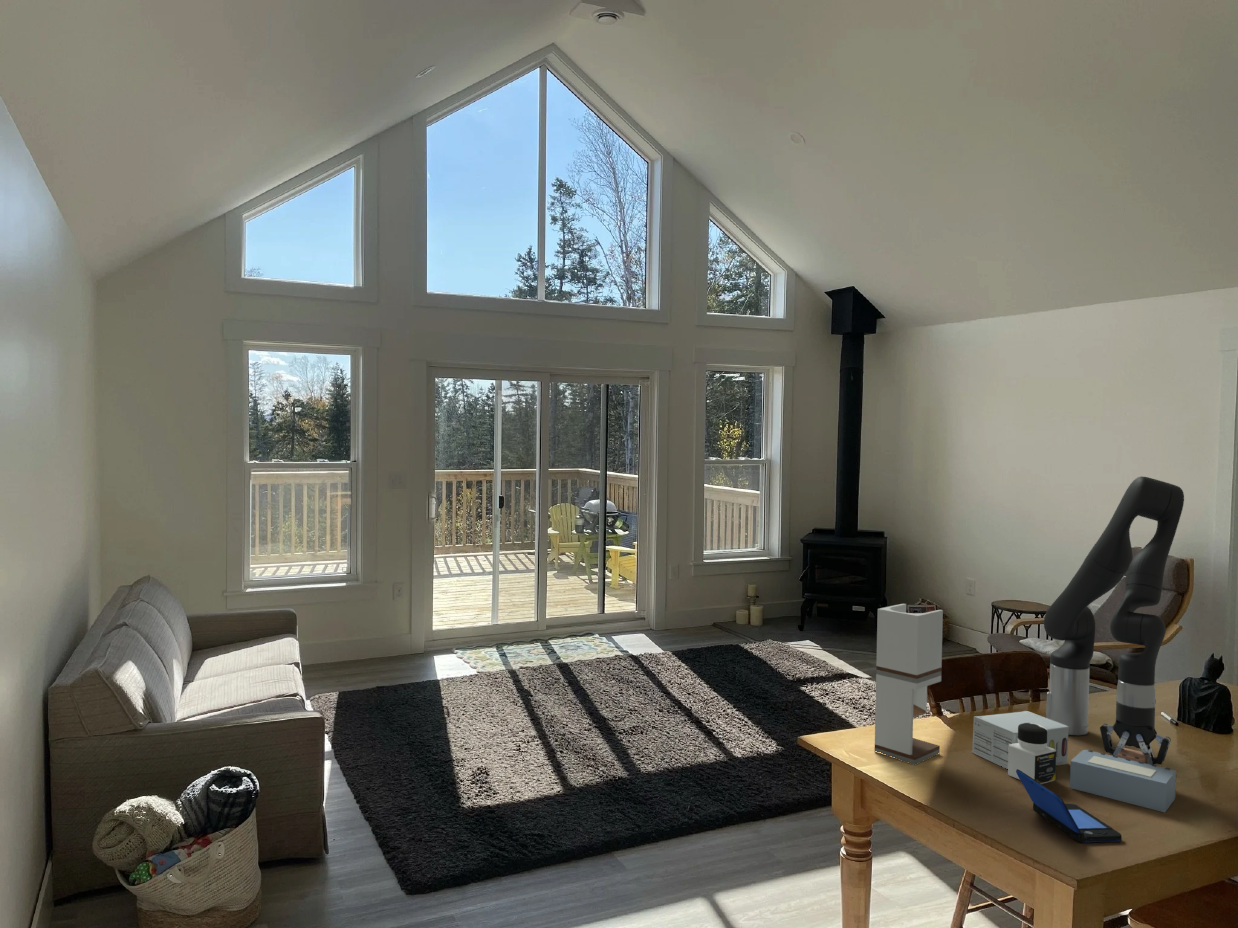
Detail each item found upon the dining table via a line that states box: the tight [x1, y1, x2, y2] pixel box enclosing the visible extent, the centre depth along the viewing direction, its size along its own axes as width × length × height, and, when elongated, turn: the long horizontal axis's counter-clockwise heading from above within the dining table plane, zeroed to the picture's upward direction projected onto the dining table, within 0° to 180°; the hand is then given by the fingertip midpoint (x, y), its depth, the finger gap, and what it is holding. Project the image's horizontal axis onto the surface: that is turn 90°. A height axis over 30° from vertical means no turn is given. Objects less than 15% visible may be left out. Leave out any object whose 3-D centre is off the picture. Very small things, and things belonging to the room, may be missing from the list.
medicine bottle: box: [1007, 723, 1057, 785], centre depth 196 cm, size 7×7×12 cm
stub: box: [1117, 747, 1147, 764], centre depth 195 cm, size 5×6×6 cm
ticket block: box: [1069, 749, 1177, 813], centre depth 188 cm, size 18×10×6 cm, turn 47°
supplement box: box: [971, 710, 1069, 770], centre depth 208 cm, size 17×13×9 cm
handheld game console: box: [1016, 769, 1123, 844], centre depth 172 cm, size 16×13×9 cm
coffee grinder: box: [874, 603, 944, 766], centre depth 210 cm, size 11×11×35 cm
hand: (1133, 776), depth 196 cm, fingers closed on stub, 5 cm apart
